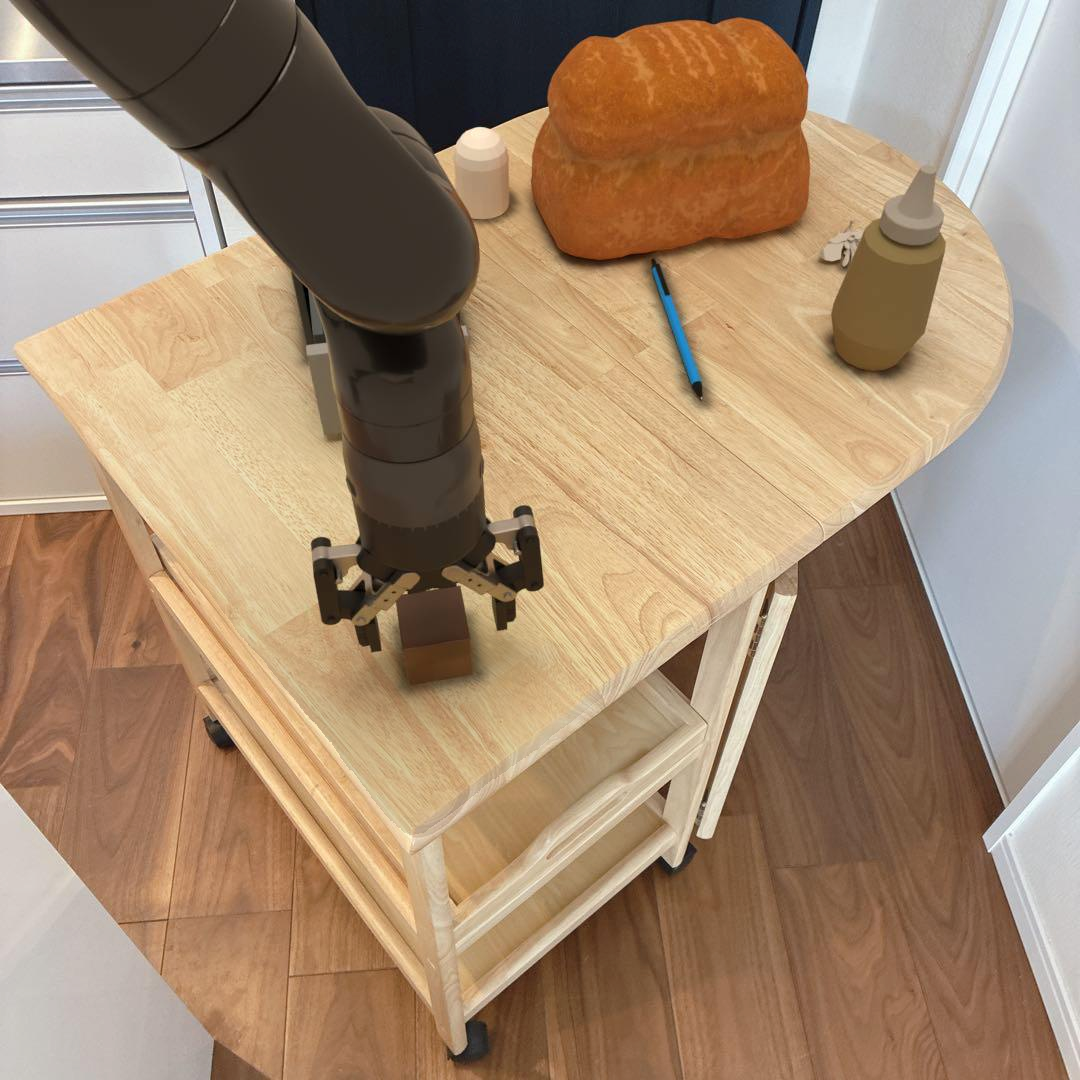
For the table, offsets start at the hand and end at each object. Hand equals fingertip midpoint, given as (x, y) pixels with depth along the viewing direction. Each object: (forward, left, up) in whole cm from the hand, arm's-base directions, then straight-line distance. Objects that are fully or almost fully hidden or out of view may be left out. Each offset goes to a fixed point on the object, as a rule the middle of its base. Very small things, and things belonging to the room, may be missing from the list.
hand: (437, 630), depth 72 cm
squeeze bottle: (+42, +24, -3) cm, 48 cm away
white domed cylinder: (+12, +52, -3) cm, 53 cm away
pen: (+26, +30, -3) cm, 40 cm away
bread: (+30, +48, -3) cm, 57 cm away
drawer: (0, +26, -2) cm, 26 cm away
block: (0, 0, -3) cm, 3 cm away
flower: (+46, +36, -3) cm, 58 cm away
